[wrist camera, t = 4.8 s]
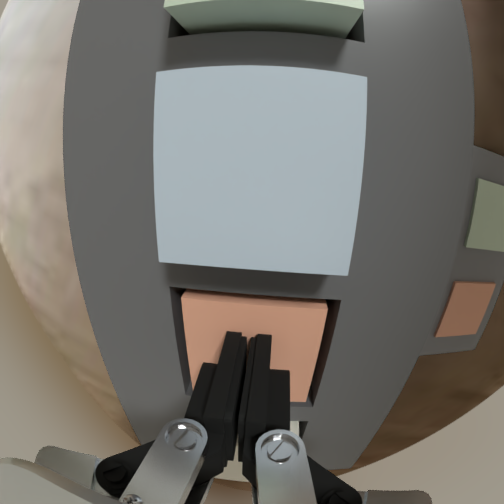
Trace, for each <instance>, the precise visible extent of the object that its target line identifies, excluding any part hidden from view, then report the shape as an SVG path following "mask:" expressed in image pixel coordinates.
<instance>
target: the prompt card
mask: <svg viewBox="0 0 504 504" xmlns="http://www.w3.org/2000/svg"><path fill="white" fill-rule="evenodd" d="M503 282H504V157H503V156H501V155H498V154H496V153H493V152H491V151H488V150H486V149H483V148H480V147H477V146H475V145H473V159H472V169H471V178H470V185H469V192H468V199H467V205H466V210H465V216H464V221H463V226H462V230H461V235H460V239H459V243H458V247H457V251H456V255H455V259H454V262H453V266H452V270H451V273H450V276H449V279H448V283H447V286H446V289H445V292H444V295H443V298H442V301H441V304H440V306H439V309H438V312H437V314H436V317H435V320H434V322H433V325H432V327H431V330H430V332H429V334H428V337H427V339H426V342H425V344H424V346H423V348H422V351H421V353H420V355H432V354H442V353H452V352H460V351H468V350H475V348H476V346H477V344H478V342H479V340H480V338H481V336H482V334H483V331H484V329H485V327H486V325H487V323H488V320H489V318H490V316H491V313H492V311H493V309H494V306H495V304H496V301H497V299H498V296H499V293H500V291H501V288H502V285H503ZM420 355H419V356H420Z"/></svg>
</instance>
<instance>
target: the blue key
mask: <svg viewBox="0 0 504 504" xmlns="http://www.w3.org/2000/svg"><path fill="white" fill-rule="evenodd" d="M366 115H367V77H364V76H359V75H353V74H347V73H341V72H334V71H327V70H318V69H309V68H298V67H284V66H257V65H237V66H210V67H196V68H185V69H175V70H167V71H160V72H156V83H155V101H154V135H153V163H154V198H155V218H156V233H157V245H158V257H159V262H165V263H177V264H188V265H200V266H213V267H225V268H238V269H252V270H265V271H280V272H294V273H309V274H325V275H342V276H348V272H349V266H350V261H351V255H352V249H353V243H354V237H355V230H356V223H357V216H358V209H359V201H360V192H361V183H362V174H363V163H364V150H365V135H366Z"/></svg>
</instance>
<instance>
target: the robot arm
mask: <svg viewBox="0 0 504 504" xmlns="http://www.w3.org/2000/svg"><path fill="white" fill-rule="evenodd" d="M271 344H272V335H268V334H257V337H251V343H250V349H249V356H248V362H247V368H246V355H247V337H246V336H242V332H233V331H227V332H226V336H225V339H224V343H223V347H222V350H221V354H220V357H219V361H218V364H214V363H206V362H203V364H202V366H201V369H200V372H199V375H198V378H197V381H196V384H195V387H194V390H193V393H192V395H191V398H190V401H189V404H188V407H187V410H186V413H185V416H184V418H183V419H176V420H172V421H170V422H169V423H167V424H166V425H165V426H164V427H163V428H162V430H161V431H160V433H159V435H158V436H157V438H156V440H153V441H151V442H148V443H146V444H143V445H141V446H138V447H136V448H133V449H130V450H128V451H125V452H122V453H119V454H116V455H114V456H111V457H108V458H106V459H100V458H97V456H94V455H89V454H84V453H79V452H74V451H70V450H66V449H62V448H58V447H55V446H46V447H43V448H42V449H41V450H39V452H38V454H37V456H36V460H35V463H33V462H30V461H26V460H23V459H18V458H1V459H0V504H204V502H205V499H206V497H207V494H208V492H209V489H210V487H211V485H212V483H213V480H214V477H215V476H217V475H219V474H221V473H223V471H224V467H227V463H228V461H233V460H234V455H235V449H236V443H237V437H238V462H242V475H243V476H244V477H245V478H246V479H247V480H248V481H249V482H250V483H251V488H252V502H253V504H432V500H431V497H430V496H429V494H427V493H425V492H424V491H419V490H412V491H379V490H368V491H367V492H363V491H356V490H355V489H354V488H352V487H351V486H349V485H348V484H346V483H345V482H344V481H342V480H341V479H339V478H338V477H336V476H335V475H334V474H332V473H331V472H329V471H328V470H327V469H325V468H324V467H322V466H321V465H320V464H318V463H317V462H316V461H314V460H313V459H312V458H310V457H309V456H308V455H307V454H306V449H305V445H304V443H303V441H302V439H301V438H300V437H299V436H298V435H296V434H295V433H293V432H291V431H290V370H277V369H270V360H271Z"/></svg>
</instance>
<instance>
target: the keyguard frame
mask: <svg viewBox="0 0 504 504" xmlns="http://www.w3.org/2000/svg"><path fill="white" fill-rule="evenodd" d="M164 1H165V0H80V3H79V7H78V11H77V15H76V19H75V24H74V29H73V34H72V39H71V45H70V51H69V58H68V65H67V73H66V83H65V95H64V112H63V161H64V179H65V192H66V202H67V211H68V219H69V226H70V233H71V239H72V245H73V250H74V256H75V261H76V266H77V271H78V275H79V280H80V284H81V288H82V292H83V296H84V300H85V304H86V307H87V311H88V315H89V318H90V321H91V325H92V328H93V331H94V334H95V337H96V340H97V343H98V346H99V349H100V352H101V355H102V358H103V361H104V363H105V366H106V369H107V371H108V374H109V376H110V379H111V381H112V384H113V386H114V389H115V391H116V393H117V396H118V398H119V400H120V402H121V405H122V407H123V409H124V411H125V413H126V415H127V417H128V419H129V422H130V424H131V426H132V428H133V430H134V432H135V433H136V435H137V437H138V439H139V441H140V443H141V445H143V444H146V443H148V442H151V441H153V440H156V438H157V436H158V435H159V433H160V431H161V430H162V428H163V427H164V426H165V425H166V424H167V423H169V422H170V421H172V420H176V419H183V418H184V416H185V413H186V410H187V407H188V404H189V401H190V398H191V395H192V393H193V388H192V381H191V375H190V368H189V361H188V354H187V346H186V338H185V330H184V321H183V312H182V302H181V297H182V295H183V294H184V292H185V290H186V289H187V288H189V289H199V290H209V291H220V292H231V293H243V294H255V295H268V296H283V297H298V298H315V299H325V300H326V304H327V308H328V311H327V316H326V321H325V326H324V330H323V335H322V339H321V344H320V348H319V352H318V357H317V361H316V365H315V369H314V373H313V377H312V381H311V384H310V388H309V392H308V396H307V399H306V402H290V421H299V437H300V438H301V439H302V441H303V443H304V445H305V449H306V454H307V455H308V456H309V457H310V458H312V459H313V460H314V461H316V462H317V463H318V464H320V465H321V466H322V467H324V468H325V469H327V470H333V469H347V468H351V467H352V466H353V465H354V463H355V462H356V461H357V459H358V458H359V457H360V455H361V454H362V453H363V451H364V450H365V448H366V447H367V446H368V444H369V443H370V441H371V440H372V438H373V437H374V435H375V434H376V432H377V431H378V429H379V428H380V426H381V425H382V423H383V421H384V420H385V418H386V417H387V415H388V413H389V412H390V410H391V408H392V407H393V405H394V403H395V401H396V400H397V398H398V396H399V394H400V392H401V391H402V389H403V387H404V385H405V383H406V381H407V379H408V377H409V375H410V373H411V372H412V370H413V367H414V365H415V363H416V361H417V359H418V357H419V355H420V353H421V351H422V348H423V346H424V344H425V342H426V339H427V337H428V334H429V332H430V330H431V327H432V325H433V322H434V320H435V317H436V314H437V312H438V309H439V306H440V304H441V301H442V298H443V295H444V292H445V289H446V286H447V283H448V279H449V276H450V273H451V270H452V266H453V262H454V259H455V255H456V251H457V247H458V243H459V239H460V235H461V230H462V226H463V221H464V216H465V210H466V205H467V199H468V192H469V185H470V178H471V169H472V159H473V145H474V119H475V107H474V81H473V68H472V58H471V50H470V43H469V37H468V31H467V25H466V20H465V16H464V11H463V7H462V3H461V0H363V1H364V11H363V12H362V14H361V15H360V17H359V18H358V20H357V21H356V23H355V24H354V26H353V27H352V29H351V30H350V32H349V33H348V35H347V37H346V38H345V39H342V38H336V37H329V36H322V35H313V34H303V33H290V32H269V31H239V32H218V33H205V34H195V35H190V34H189V33H188V32H187V31H186V30H185V29H184V28H183V27H182V26H181V25H180V24H179V23H178V22H177V20H176V19H175V18H174V17H173V16H172V15H171V14H170V13H169V12H168V11H167V10H166V9H165V8H164ZM237 65H257V66H284V67H298V68H309V69H318V70H327V71H334V72H341V73H347V74H353V75H359V76H364V77H367V115H366V135H365V150H364V163H363V174H362V183H361V192H360V201H359V209H358V216H357V223H356V230H355V237H354V243H353V249H352V255H351V261H350V266H349V272H348V276H342V275H325V274H309V273H294V272H280V271H265V270H252V269H238V268H225V267H213V266H200V265H188V264H177V263H165V262H159V257H158V245H157V233H156V218H155V198H154V163H153V135H154V101H155V83H156V72H160V71H167V70H175V69H185V68H196V67H210V66H237Z"/></svg>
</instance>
